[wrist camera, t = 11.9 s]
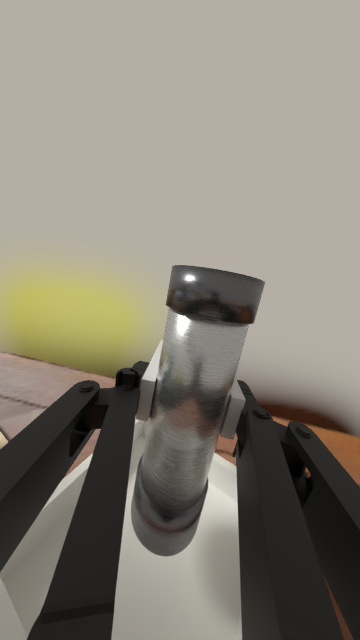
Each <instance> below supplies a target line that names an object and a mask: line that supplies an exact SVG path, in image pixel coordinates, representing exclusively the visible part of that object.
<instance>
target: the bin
mask: <svg viewBox="0 0 360 640" xmlns="http://www.w3.org/2000/svg"><path fill="white" fill-rule="evenodd" d="M148 423H149V421H148V422H147V421H142V420H137V419H136V418H135V427H134V436H133V445H132V453H131V462H130V471H129V480H128V488H127V497H126V506H125V515H124V524H123V532H122V541H121V550H120V559H119V567H118V576H117V585H116V594H115V605H114V617H113V628H112V637H111V640H242V619H241V589H240V559H239V529H238V499H237V469H236V466H234V465H233V464H231V463H230V462H228V461H227V460H225V459H223V458H222V457H220V456H219V455H217V454H216V453H214V455H213V459H212V463H211V467H210V470H209V474H208V490H207V494H206V498H205V502H204V505H203V509H202V512H201V516H200V520H199V523H198V527H197V530H196V533H195V535H194V538H193V539H192V541H191V543H190V544H189V545H188V546H187V547H186V548H185V549H184V550H183V551H182V552H180V553H178V554H176V555H173V556H159V555H156V554H154V553H151V552H150V551H149V550H147V549H146V548H145V547H144V546H143V545H142V544H141V542H140V541H139V540H138V538H137V536H136V534H135V531H134V529H133V525H132V520H131V503H132V497H133V491H134V485H135V479H136V474H137V468H138V463H139V460H140V458H141V456H142V454H143V451H144V446H145V440H146V434H147V429H148ZM92 455H93V454H91V455H90V456H89V457H88V458H87V459H86V460H85V461H83V462H82V463H81V464H80V465H79V466H78V467H77V468H75V469H74V470H73V471H72V472H71V473H70V474H69V475H67V476H66V477H65V478H64V479H63V480H62V481H61V482H60V483H59V485H58V486H57V488H56V489H55V491H54V492H53V494H52V495H51V497H50V498H49V500H48V501H47V503H46V504H45V506H44V507H43V509H42V510H41V512H40V513H39V515H38V516H37V518H36V520H35V521H34V523H33V524H32V526H31V527H30V529H29V530H28V532H27V533H26V535H25V536H24V538H23V539H22V541H21V542H20V544H19V545H18V547H17V548H16V550H15V551H14V553H13V554H12V556H11V557H10V559H9V560H8V562H7V563H6V565H5V566H4V568H3V569H2V571H1V572H0V640H27V638H28V635H29V633H30V630H31V628H32V626H33V624H34V623H35V621H36V619H37V618H38V616H39V614H40V612H41V609H42V607H43V604H44V602H45V599H46V596H47V593H48V590H49V587H50V584H51V581H52V578H53V575H54V571H55V568H56V565H57V562H58V559H59V556H60V553H61V550H62V547H63V544H64V541H65V538H66V535H67V532H68V529H69V526H70V523H71V519H72V516H73V513H74V510H75V507H76V504H77V501H78V498H79V495H80V492H81V489H82V486H83V483H84V480H85V477H86V474H87V471H88V467H89V464H90V461H91V458H92Z"/></svg>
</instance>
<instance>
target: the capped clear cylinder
mask: <svg viewBox="0 0 360 640" xmlns="http://www.w3.org/2000/svg"><path fill="white" fill-rule="evenodd" d="M264 284H265V282H264V281H262V280H260V279H257V278H253V277H250V276H246V275H242V274H237V273H233V272H228V271H222V270H217V269H211V268H204V267H196V266H186V265H175V266H172V272H171V278H170V283H169V289H168V295H167V301H166V305H167V306H168V307H169V310H168V316H167V322H166V327H165V333H164V339H163V344H162V350H161V355H160V361H159V367H158V372H157V379H156V384H155V390H154V396H153V401H152V407H151V412H150V417H149V423H148V429H147V434H146V440H145V446H144V451H143V454H142V456H141V458H140V460H139V463H138V468H137V474H136V479H135V485H134V491H133V497H132V503H131V520H132V525H133V529H134V531H135V534H136V536H137V538H138V540H139V541H140V542H141V544H142V545H143V546H144V547H145V548H146V549H147V550H149V551H150V552H151V553H154V554H156V555H159V556H173V555H176V554H178V553H180V552H182V551H183V550H184V549H185V548H186V547H187V546H188V545H189V544H190V543H191V541H192V539H193V538H194V535H195V533H196V530H197V527H198V523H199V520H200V516H201V512H202V509H203V505H204V502H205V498H206V494H207V490H208V474H209V470H210V467H211V463H212V459H213V455H214V452H215V448H216V444H217V441H218V437H219V433H220V430H221V426H222V422H223V419H224V415H225V411H226V408H227V404H228V400H229V396H230V393H231V389H232V385H233V382H234V378H235V374H236V371H237V367H238V363H239V360H240V356H241V352H242V349H243V345H244V341H245V337H246V333H247V330H248V326H249V324H253V323H254V320H255V317H256V313H257V309H258V306H259V302H260V299H261V295H262V292H263V287H264Z"/></svg>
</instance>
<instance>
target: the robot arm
mask: <svg viewBox="0 0 360 640" xmlns="http://www.w3.org/2000/svg"><path fill="white" fill-rule="evenodd" d="M162 344H163V340H161V342H160V344H159V346H158V348H157V350H156V352H155V354H154V356H153V358H152V360H151V362H150V363H148V362H143V361H139V362H137V363H136V364H134V366H133V367H132V368H123V369H121V370H119V371H118V372H117V374H116V383H115V387H113V388H100V386H99V384H98V383H97V382H95V381H90V380H87V381H82V382H79V383H77V384H75V385H74V386H73V387H72V388H70V389H69V390H68V391H67V392H66V393H65V394H63V395H62V396H61V397H60V398H59V399H58V400H57V401H55V402H54V403H53V404H52V405H51V406H50V407H48V408H47V409H46V410H45V411H44V412H43V413H42V414H40V415H39V416H38V417H37V418H36V419H35V420H33V421H32V422H31V423H30V424H29V425H28V426H27V427H25V428H24V429H23V430H22V431H21V432H20V433H18V434H17V435H16V436H15V437H14V438H13V439H12V440H10V441H9V442H8V443H7V444H6V445H5V446H4V447H2V448H1V449H0V572H1V571H2V569H3V568H4V566H5V565H6V563H7V562H8V560H9V559H10V557H11V556H12V554H13V553H14V551H15V550H16V548H17V547H18V545H19V544H20V542H21V541H22V539H23V538H24V536H25V535H26V533H27V532H28V530H29V529H30V527H31V526H32V524H33V523H34V521H35V520H36V518H37V516H38V515H39V513H40V512H41V510H42V509H43V507H44V506H45V504H46V503H47V501H48V500H49V498H50V497H51V495H52V494H53V492H54V491H55V489H56V488H57V486H58V485H59V483H60V482H61V480H62V479H63V477H64V476H65V474H66V473H67V471H68V470H69V468H70V467H71V465H72V464H73V462H74V461H75V459H76V458H77V456H78V455H79V453H80V452H81V450H82V449H83V447H84V446H85V444H86V443H87V441H88V440H89V438H90V437H91V435H92V434H93V432H94V431H95V429H101V431H100V434H99V437H98V440H97V443H96V446H95V449H94V452H93V455H92V458H91V461H90V464H89V467H88V471H87V474H86V477H85V480H84V483H83V486H82V489H81V492H80V495H79V498H78V501H77V504H76V507H75V510H74V513H73V516H72V519H71V523H70V526H69V529H68V532H67V535H66V538H65V541H64V544H63V547H62V550H61V553H60V556H59V559H58V562H57V565H56V568H55V571H54V575H53V578H52V581H51V584H50V587H49V590H48V593H47V596H46V599H45V602H44V604H43V607H42V609H41V612H40V614H39V616H38V618H37V619H36V621H35V623H34V624H33V626H32V628H31V630H30V633H29V635H28V638H27V640H111V637H112V628H113V617H114V605H115V594H116V585H117V576H118V567H119V559H120V550H121V541H122V532H123V524H124V515H125V506H126V497H127V488H128V480H129V471H130V462H131V453H132V445H133V436H134V427H135V418H136V419H137V420H142V421H147V422H148V421H149V417H150V412H151V407H152V401H153V396H154V390H155V384H156V379H157V372H158V367H159V361H160V355H161V350H162ZM235 433H237V437H238V440H237V443H236V446H235V449H234V452H233V456H232V457H235V454H236V469H237V499H238V529H239V559H240V589H241V619H242V640H344V639H343V636H342V632H341V629H340V626H339V623H338V620H337V617H336V614H335V611H334V608H333V605H332V601H331V598H330V595H329V592H328V589H327V586H326V583H325V580H324V577H323V574H324V576H325V578H326V580H327V582H328V584H329V587H330V589H331V591H332V593H333V595H334V597H335V600H336V602H337V604H338V606H339V608H340V610H341V613H342V615H343V617H344V619H345V621H346V623H347V626H348V628H349V630H350V632H351V634H352V636H353V639H354V640H360V487H359V486H358V485H357V484H356V482H355V481H354V480H353V479H352V477H351V476H350V475H349V474H348V473H347V471H346V470H345V469H344V468H343V467H342V465H341V464H340V463H339V462H338V461H337V459H336V458H335V457H334V456H333V455H332V453H331V452H330V451H329V450H328V448H327V447H326V446H325V445H324V444H323V442H322V441H321V440H320V439H319V438H318V436H317V435H316V434H315V433H314V432H313V431H312V430H311V429H310V428H308V427H307V426H305V425H303V424H302V423H299V422H295V421H291V422H289V424H288V427H286V426H284V425H282V424H279V423H277V422H275V421H273V418H272V416H271V415H270V414H269V413H268V412H267V411H266V410H265V409H263V408H261V407H259V405H258V403H257V401H256V399H255V398H254V396H253V394H252V392H251V390H250V388H249V387H248V385H247V384H246V383H244V382H243V381H240V380H236V378H234V382H233V385H232V389H231V393H230V396H229V400H228V404H227V408H226V411H225V415H224V419H223V422H222V426H221V430H220V436H221V437H224V438H228V439H234V436H235ZM306 467H307V469H308V470H309V472H310V473H311V476H310V477H308V476H307V474H306V472H305V470H306ZM321 569H322V570H321ZM322 571H323V574H322Z"/></svg>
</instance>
